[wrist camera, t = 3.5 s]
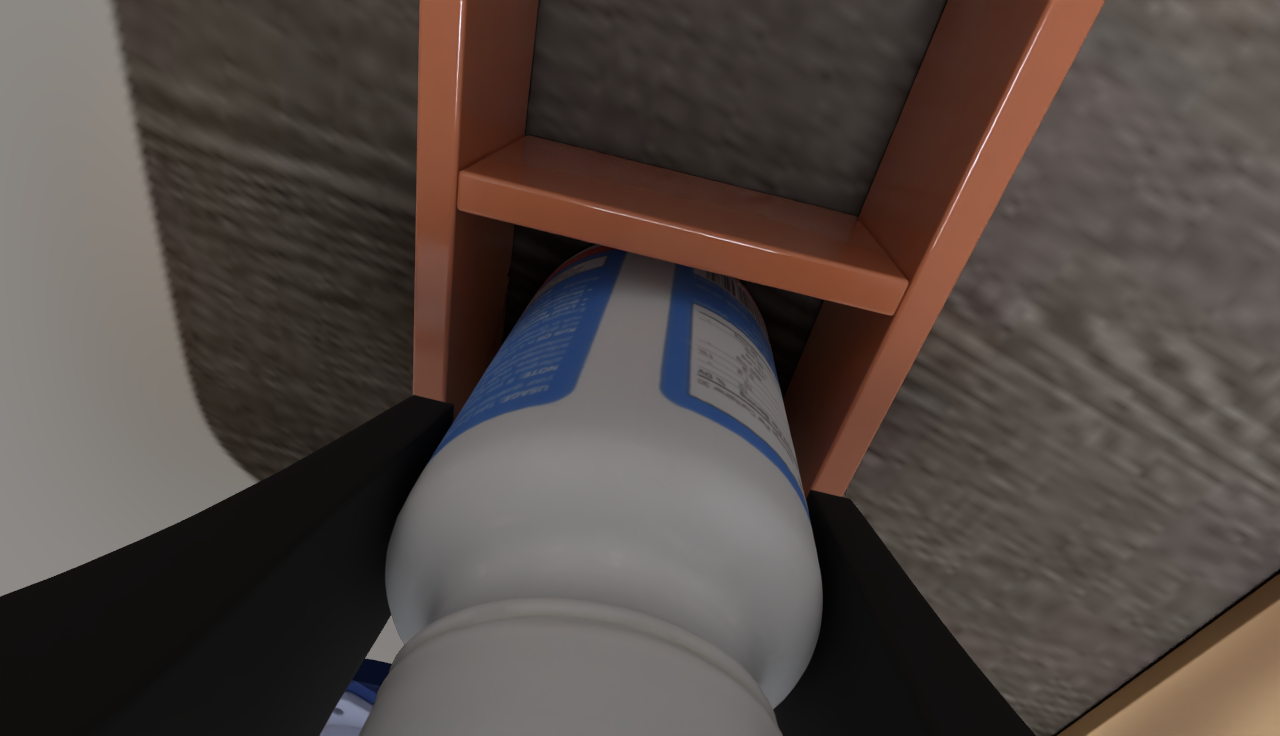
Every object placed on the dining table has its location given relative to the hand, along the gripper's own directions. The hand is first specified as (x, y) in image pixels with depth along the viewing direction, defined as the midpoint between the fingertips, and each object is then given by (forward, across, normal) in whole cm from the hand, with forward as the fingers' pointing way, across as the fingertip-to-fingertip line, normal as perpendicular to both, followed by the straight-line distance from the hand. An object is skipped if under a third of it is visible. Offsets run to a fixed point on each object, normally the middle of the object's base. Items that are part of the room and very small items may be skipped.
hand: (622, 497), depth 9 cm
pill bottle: (+5, 0, 0) cm, 5 cm away
